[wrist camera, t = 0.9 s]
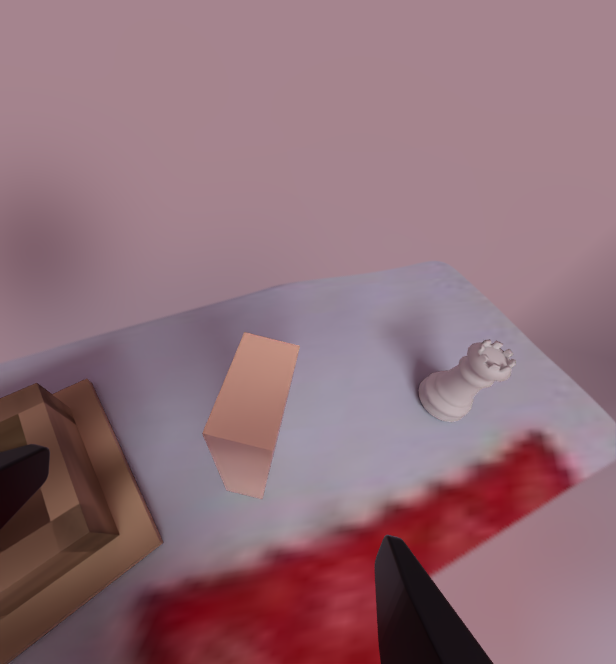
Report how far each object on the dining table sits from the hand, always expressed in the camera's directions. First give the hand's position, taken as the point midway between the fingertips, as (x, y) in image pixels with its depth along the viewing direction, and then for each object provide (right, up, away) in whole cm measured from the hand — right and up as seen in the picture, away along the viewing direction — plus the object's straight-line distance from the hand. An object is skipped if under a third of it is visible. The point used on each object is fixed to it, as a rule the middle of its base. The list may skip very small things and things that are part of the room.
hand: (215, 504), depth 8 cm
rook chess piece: (+14, -2, +19) cm, 24 cm away
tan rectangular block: (-2, -5, +14) cm, 15 cm away
